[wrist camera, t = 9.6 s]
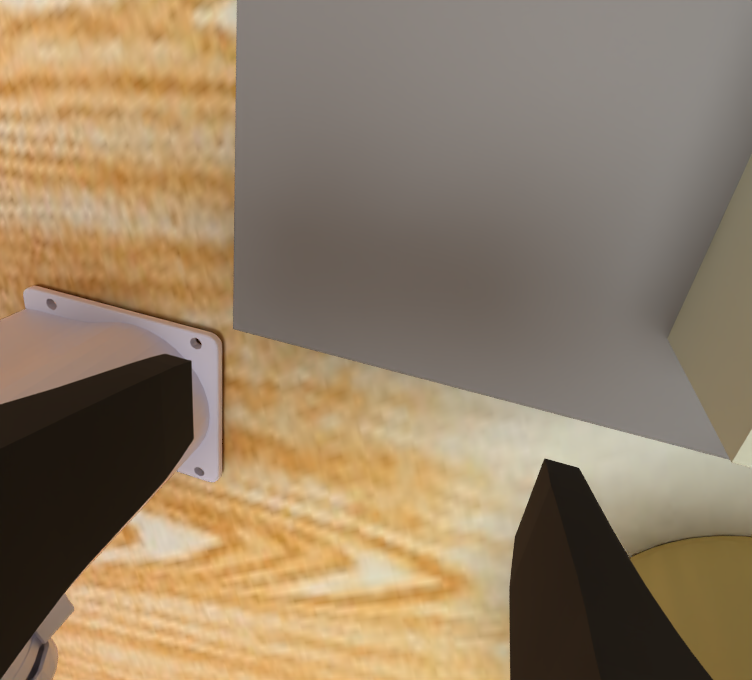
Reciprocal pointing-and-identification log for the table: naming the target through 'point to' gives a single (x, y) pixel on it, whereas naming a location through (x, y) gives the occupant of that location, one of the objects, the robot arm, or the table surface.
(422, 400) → the table surface
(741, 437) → the pale green block
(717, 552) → the potted cactus
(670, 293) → the mounting board
